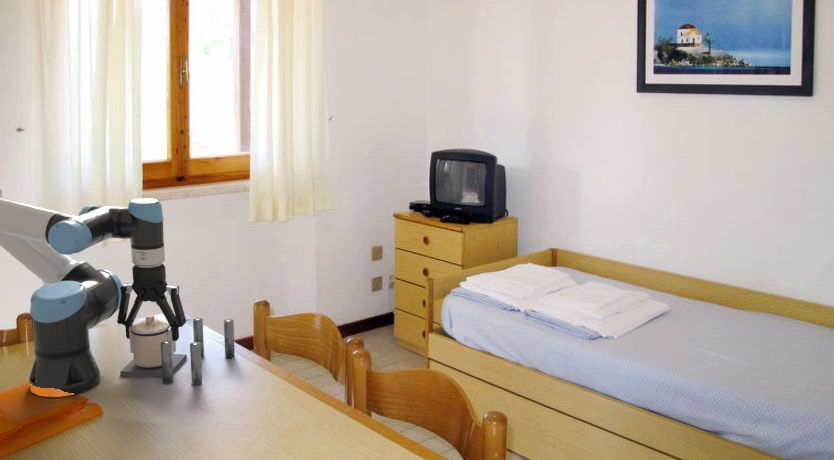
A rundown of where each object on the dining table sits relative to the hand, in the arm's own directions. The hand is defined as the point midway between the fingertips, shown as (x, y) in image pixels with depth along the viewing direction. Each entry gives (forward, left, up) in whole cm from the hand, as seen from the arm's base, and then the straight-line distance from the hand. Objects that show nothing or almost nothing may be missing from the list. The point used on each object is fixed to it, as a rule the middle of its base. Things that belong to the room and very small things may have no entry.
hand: (153, 351), depth 193 cm
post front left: (+7, -8, -4) cm, 11 cm away
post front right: (+14, -8, -4) cm, 16 cm away
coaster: (0, 0, -4) cm, 4 cm away
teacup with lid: (-1, 0, -2) cm, 3 cm away
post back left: (+9, +8, -4) cm, 13 cm away
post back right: (+17, +8, -4) cm, 19 cm away
